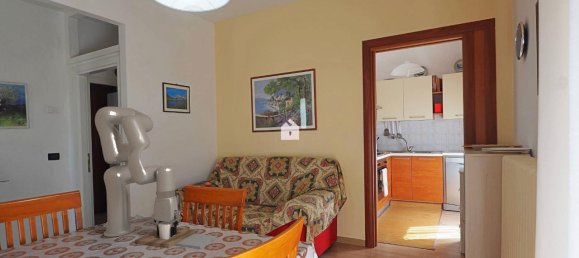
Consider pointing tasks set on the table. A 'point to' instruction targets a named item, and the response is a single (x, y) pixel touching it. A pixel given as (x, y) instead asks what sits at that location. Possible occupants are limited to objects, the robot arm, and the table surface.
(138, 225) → the table surface
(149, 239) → the pocket board
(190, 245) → the ceramic tile
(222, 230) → the table surface
